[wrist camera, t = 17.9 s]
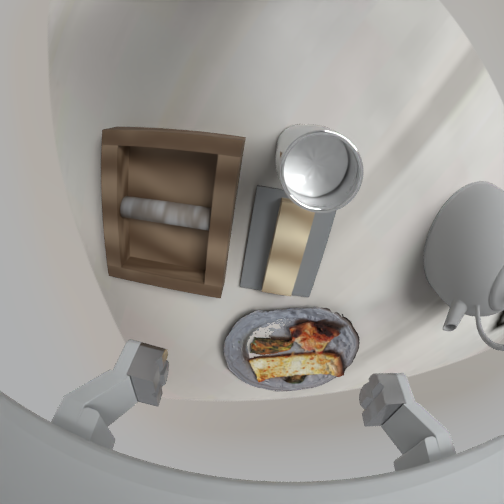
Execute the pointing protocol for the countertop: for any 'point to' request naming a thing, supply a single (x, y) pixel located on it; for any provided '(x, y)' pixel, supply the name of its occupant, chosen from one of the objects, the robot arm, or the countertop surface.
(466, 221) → the kettle
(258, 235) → the rubber mat
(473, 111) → the countertop surface
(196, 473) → the robot arm
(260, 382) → the food plate
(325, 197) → the drinking glass
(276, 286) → the maple bar
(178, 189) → the pocket board
